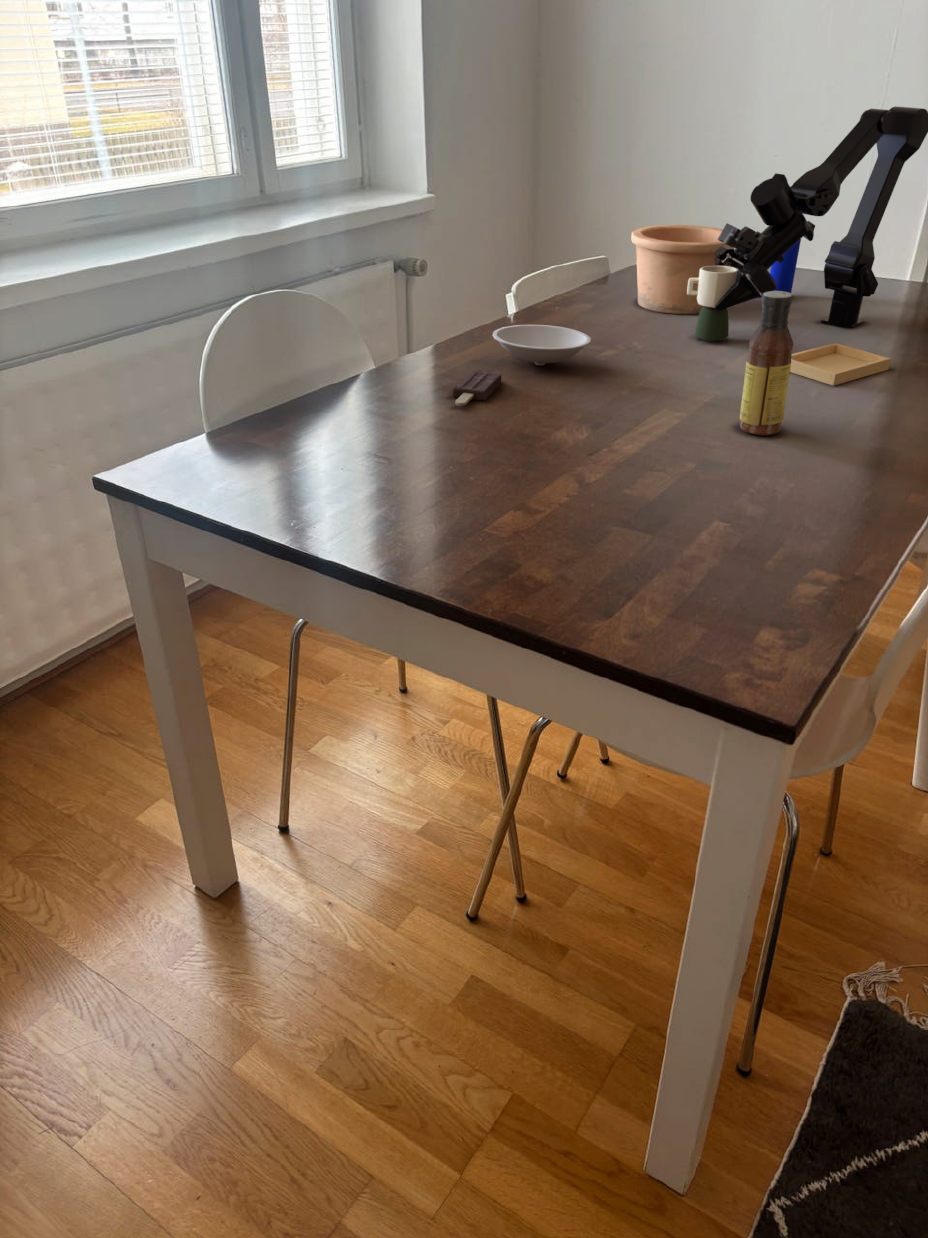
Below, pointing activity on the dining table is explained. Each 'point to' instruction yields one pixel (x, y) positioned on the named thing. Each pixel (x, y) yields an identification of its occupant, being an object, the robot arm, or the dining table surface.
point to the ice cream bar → (476, 386)
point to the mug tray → (837, 363)
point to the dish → (541, 342)
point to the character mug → (712, 300)
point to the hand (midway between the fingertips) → (708, 303)
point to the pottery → (672, 265)
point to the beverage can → (786, 269)
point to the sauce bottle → (768, 367)
